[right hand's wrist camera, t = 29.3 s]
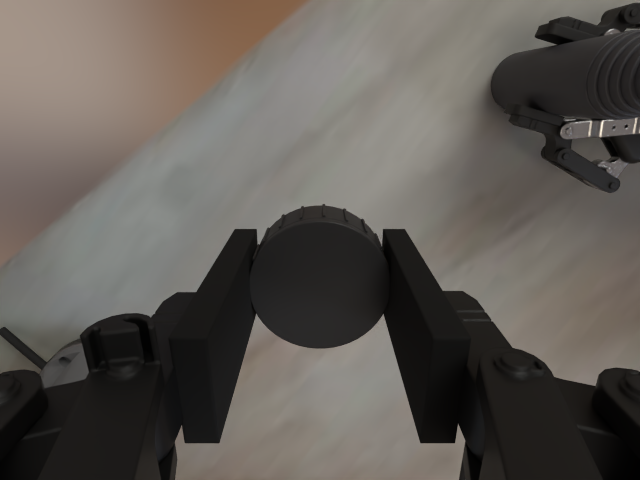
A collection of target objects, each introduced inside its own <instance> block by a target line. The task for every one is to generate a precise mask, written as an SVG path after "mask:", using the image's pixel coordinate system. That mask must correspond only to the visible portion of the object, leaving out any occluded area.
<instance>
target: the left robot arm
mask: <svg viewBox="0 0 640 480" xmlns="http://www.w3.org/2000/svg"><path fill="white" fill-rule="evenodd" d="M626 28H629V29H640V3H632V4H629V5H625V6H622V7H618V8H614V9H611V10H608V11H606V12H605V13H604V14H603V15H602V18H601V22H600V23H599V24H598V25H594V24H590V23H587V22H584V21H581V20H578V19H575V18H572V17H561V18H558V19H554V20H551V21H549V23H548V24H544V25H541V26H539V27H538V30H537V32H536V35H535V37H536V38H538V39H541V40H544V41H547V42H551V43H554V44H557V45H560V44H565V43H570V42H575V41H580V40H585V39H590V38H595V37H600V36H605V35H610V34H615V33H620V32H624V31H625V29H626ZM504 113H507V114H511V116H510V118H509V122H511V123H512V124H513V125H516V126H519V127H523V128H526V129H530V130H533V131H537V132H540V133H542V134H544V136H545V138H546V145H545V147H543V149H542V151H541V156H542V157H543V158H544V159H545V160H547V161H549V162H550V163H552V164H554V165H555V166H557V167H559V168H560V169H562V170H563V171H565V172H567V173H568V174H570V175H572V176H573V177H575V178H577V179H578V180H580V181H581V182H583V183H585V184H586V185H588V186H591V187H594V188H596V189H599V190H602V191H605V192H608V193H612V192H615V191H616V190H617V189H618V188H619V186H620V181H619V179H617V177H618V176H619V175H620V173H621V172H622V171H623V170H624V168H625V167H626V166H627V165H628V163H637V162H640V117H637V118H633V119H623V120H607V119H597V118H586V117H577V118H573V119H564V117H562V116H558V115H555V114H551V113H548V112H545V111H541V110H538V109H534V108H531V107H527V106H524V105H520V104H510V103H508V104H507V106H506V109H505V111H504ZM563 119H564V120H563ZM586 137H600V138H601V140H602V141H603V143H604V145H605V147H606V149H607V150H608V152H609V154H610V156H611V158H610V159H608V160H606V161H603V160H599V159H597V160H594V161H592V162H590V161H588V160H587V159H585V158H584V157H582V156H580V155H579V154H577V153H576V152H574V151H572V150H571V141H572V139H576V138H586Z"/></svg>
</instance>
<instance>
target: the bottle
mask: <svg viewBox="0 0 640 480" xmlns="http://www.w3.org/2000/svg"><path fill="white" fill-rule="evenodd" d="M491 91H492V95H493V98H494V100H495V101H496V103H497V104H498V105H499V106H501V107H502V108H504V109H506V106H507V104H508V103H510V104H520V105H524V106H527V107H531V108H534V109H538V110H541V111H545V112H548V113H551V114H555V115H564V116H575V117H586V118H597V119H607V120H623V119H633V118H637V117H640V30H630V31H625V32H620V33H615V34H610V35H605V36H600V37H595V38H590V39H585V40H580V41H575V42H570V43H565V44H560V45H555V46H550V47H544V48H539V49H534V50H529V51H524V52H519V53H515V54H512V55H510V56H509V57H507V58H506V59H504V60H503V61H502V62H501V63H500V64H499V66H498V67H497V69H496V70H495V72H494V74H493V78H492V82H491Z"/></svg>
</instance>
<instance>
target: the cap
mask: <svg viewBox="0 0 640 480" xmlns="http://www.w3.org/2000/svg"><path fill="white" fill-rule="evenodd" d="M252 261H253V264H252V267H251V270H250V275H249V279H250V295H251V302H252V305H253V307H254V310H255V312H256V313H257V315H258V317H259V318H260V320H261V321H262V322H263V324H264V325H265V326H266V327H267V328H268V329H269V330H271V331H272V332H273V333H274V334H275V335H277V336H279V337H280V338H282V339H284V340H286V341H288V342H290V343H293V344H296V345H298V346H303V347H307V348H332V347H337V346H341V345H344V344H347V343H350V342H352V341H354V340H356V339H358V338H360V337H361V336H363V335H364V334H366V333H367V332H368V331H369V330H370V329H372V328H373V326H374V325H375V324H376V323H377V322H378V321H379V319H380V318H381V316H382V315H383V313H384V311H385V309H386V307H387V304H388V301H389V291H390V272H389V265H388V263H387V260H386V257H385V255H384V252H383V251H382V246H381V244H380V241H379V239H378V236H377V234H376V233H375V234H374V233H373V231H372V230H371V229H370V227H369V226H368V225H367V224H366V223H365V222H364V219H360V218H358V217H357V216H355V215H353V214H352V213H350V212H348V211H346V209H340V208H336V207H331V206H325V204H323V206H309V207H304V206H302V207H301V208H300V209H297V210H295V211H292V212H290V213H288V214H286V215H284V214H283V215H282V217H281V218H280V219H279V220H278V221H276V222H275V223H274V224H273V225H272V226H271V227H270V228H269V227H268V228H267V230H266V233H265V235H264V237H263V239H262V241H261V244H260V245H259V244H258V246H257V249H256V251H255V253H254V256H253V258H252Z"/></svg>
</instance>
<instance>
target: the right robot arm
mask: <svg viewBox="0 0 640 480" xmlns="http://www.w3.org/2000/svg"><path fill="white" fill-rule="evenodd" d="M257 246H258V245H257V229H235V230H234V232H233V233H232V235H231V236H230V238H229V240H228V241H227V243H226V245H225V246H224V248H223V250H222V251H221V253H220V254H219V256H218V258H217V259H216V261H215V263H214V264H213V266H212V267H211V269H210V271H209V272H208V274H207V276H206V277H205V279H204V280H203V282H202V284H201V285H200V287H199V289H198V290H197V292H177V293H176V294H174V295H172V296H171V297H169V298H168V299H166V300H165V301H163V302H162V304H161V305H160V306H159V308H158V309H157V311H156V312H155V314H154V315H153V316H152V317H151V318H150V317H149V316H147V315H143V314H139V313H131V314H121V315H116V316H111V317H109V318H106V319H103V320H100V321H98V322H96V323H95V324H93V325H91V326H90V327H88V328H87V329H86V330H85V331H84V332H83V333H82V334H81V335H80V338H81V339H78V340H75V341H73V342H71V343H69V344H67V345H66V346H64V347H63V348H61V349H60V350H59V351H58V352H57V353H56V354H55V355H54V356H53V357H52V358H51V359H50V360H49V361H48V362H46V361H44V360H43V359H42V358H41V357H39V356H38V355H37V354H36V353H35V352H33V351H32V350H31V349H30V348H29V347H28V346H26V345H25V344H24V343H23V342H22V341H20V340H19V339H18V338H17V337H16V336H15V335H14V334H12V333H11V332H10V331H9V330H8V329H7V328H5V327H3V328H1V329H0V335H1V336H2V337H4V338H5V339H6V340H7V341H8V342H9V343H10V344H12V345H13V346H14V347H15V348H16V349H17V350H19V351H20V352H21V353H22V354H23V355H25V356H26V357H27V358H28V359H29V360H31V361H32V362H33V363H34V364H35V365H37V366H38V367H39V368H40V369H41V370H42V371H41V373H40V374H38V373H37V372H35V371H30V370H16V371H8V372H3V373H2V374H0V480H175V474H176V466H177V454H176V447H175V440H176V437H177V435H178V432H179V430H180V428H181V425H182V428H183V434H184V441H185V443H219V442H220V439H221V435H222V432H223V428H224V425H225V421H226V418H227V414H228V411H229V407H230V404H231V400H232V397H233V393H234V390H235V386H236V383H237V379H238V376H239V372H240V369H241V365H242V362H243V358H244V355H245V351H246V348H247V344H248V341H249V337H250V334H251V330H252V327H253V323H254V320H255V316H256V312H255V310H254V307H253V305H252V302H251V295H250V279H249V275H250V270H251V267H252V264H253V261H252V258H253V256H254V253H255V251H256V249H257ZM382 251H383V252H384V255H385V257H386V260H387V263H388V265H389V272H390V291H389V301H388V304H387V307H386V309H385V311H384V317H385V320H386V324H387V327H388V331H389V334H390V338H391V341H392V345H393V349H394V352H395V356H396V359H397V363H398V366H399V370H400V373H401V377H402V380H403V384H404V387H405V391H406V394H407V398H408V401H409V405H410V408H411V412H412V415H413V419H414V422H415V426H416V429H417V433H418V436H419V440H420V443H455V439H456V433H457V426H458V424H459V426H460V429H461V431H462V433H463V436H464V438H465V447H464V453H463V459H462V465H461V471H460V477H459V480H640V372H638V371H637V370H632V369H624V368H611V369H605V370H604V371H603V372H601V373H600V374H599V376H598V380H597V383H596V386H592V385H587V384H582V383H577V382H572V381H568V380H563V379H559V378H556V377H554V376H553V374H552V372H551V370H550V369H549V368H548V367H547V365H546V364H545V363H544V362H543V361H541V360H540V359H538V358H537V357H535V356H534V355H532V354H529V353H527V352H525V351H522V350H519V349H515V348H512V347H511V345H510V344H509V343H508V341H507V340H506V339H505V337H504V336H503V335H502V333H501V332H500V331H499V329H498V328H497V327H496V325H495V324H494V323H493V322H491V319H490V317H489V316H488V315H487V313H485V312H484V309H483V308H482V307H481V305H480V304H479V303H478V301H477V300H476V299H474V298H473V297H471V296H470V295H468V294H466V293H465V292H463V291H442V289H441V287H440V286H439V284H438V283H437V281H436V279H435V278H434V276H433V274H432V273H431V271H430V270H429V268H428V266H427V265H426V263H425V261H424V260H423V258H422V256H421V255H420V253H419V252H418V250H417V248H416V247H415V245H414V243H413V242H412V240H411V239H410V237H409V235H408V234H407V232H406V230H405V229H383V240H382Z"/></svg>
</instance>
